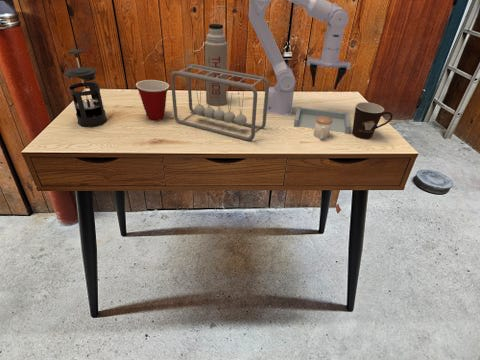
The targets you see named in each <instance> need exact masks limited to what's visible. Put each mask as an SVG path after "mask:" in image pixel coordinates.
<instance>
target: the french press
mask: <svg viewBox="0 0 480 360" xmlns="http://www.w3.org/2000/svg"><path fill="white" fill-rule="evenodd" d="M83 52H84V50H81V49H71V50H68V51H67V53H68V54H70V55H73V56H74V58H75V59H76V62H77V66H78V67H72V68H70V69H67V70H64V75H65V76H66V78H67V80H68V81H69V80H70V79H71V78H77V79H78V78H79V79H81V81H82V82H77V83H74V84H72V85H70V86H69V87H68V90H69V94H70V95H71V97H72V101H73V104H74V108H75V111H76V113H75V116H76V119H77V125H78V126H79V127H83V128H96V127H101V126H102V125H104V124H106V123H107V122H108V117H107V114H106V110H105V108H104V103H103V100H102V96H101V91H100V90H101V88H100V84H99V83H98V82H97V81H93V80H95V79H96V78H97V76H96V72H97V70H96V69H95V68H94V67H90V66H80V62H79V59H78V58H79V55H78V54H82V53H83ZM84 81H85V82H84ZM86 87H88V89H89V90H87V89H86ZM78 88H83V89H84V90H82V91H77V90H75V89H78ZM82 96H83V97H86V99H83V97H82ZM88 96H90V97H91V98H88Z"/></svg>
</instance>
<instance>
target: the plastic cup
mask: <svg viewBox="0 0 480 360" xmlns="http://www.w3.org/2000/svg"><path fill="white" fill-rule="evenodd" d="M169 87H170V84H169V83H167V82H165V81H162V80H156V79H145V80H140V81H138V82H136V84H135V88H137V91H138V93H139V94H138V95H139V96H140V99H141V102H142V106H143V110H144V112H145V114H146V117H147V119H148V120H150V121H156V122H157V121H161V120H163V119H164V118H165V114H166V103H167V94H168V90H169Z"/></svg>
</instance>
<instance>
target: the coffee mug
mask: <svg viewBox="0 0 480 360" xmlns="http://www.w3.org/2000/svg"><path fill="white" fill-rule="evenodd" d="M354 109H355V110H354V116H353V124H352V132H351V134H352V136H353V137H355V138H357V139H360V140H370V139H372V138H373V136H374V133H375V131H376V130H377V129H378V128H381V127H383V126H385V125H387V124H388V123H390V122H391V121H392V120H393V113H392V112H390V111H385V108H384V107H383V106H381V105H380V104H377V103H373V102H368V101H367V102H365V101H364V102H363V101H362V102H358V103H356V104H355V108H354ZM386 114H387V115H390V118H389V119H388V120H386V122H383V123H381V124H379V122H380V120H381V117H382V116H384V115H386ZM378 124H379V125H378ZM371 137H372V138H371Z"/></svg>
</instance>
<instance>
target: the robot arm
mask: <svg viewBox="0 0 480 360" xmlns="http://www.w3.org/2000/svg"><path fill="white" fill-rule="evenodd" d="M287 1H288V2H291V3H293V4H295V5H297V6H299V7H302V8H304V9H305V10H306V14H307V16H309V17H312V18H314V19H316V20H317V21H320V22H322V23H325V24H327V25H326V31H325V34H324V39H323V45H322V50H321V58H307V63H306V66H307V67H308V66H309V72H310V76H311V80H312V81H311V83H312V85H311V87H312V88H315V84H316V75H317V69H318V67H323V68H332V69H333V68H334V69H337V73H336V78H335V82H334V84H333V85H334V86H333V90H337V88H338V85H339V83H340V82H341V80H342V79H343V77H344V76H345V74H346V73H347V70H348V71H349V70H350V69H351V65H352V64H351V63H352V62H348V61H342V60H339V57H340V51H341V47H342V42H343V38H344V32H345V27H347V25H348V24H349V21H350V19H349V14H348V12H347V10H346V9H344V8H342V7H340V6H339V5H338V4H337V2H334V3H332V2H330V1H328V0H287ZM271 2H272V0H249V8H248V20H249V22H250V24H251V26H252V28H253V30H254V32H255V34H256V36H257V38H258V40H259V42H260V44H261V47H262V48H263V50H264V52H265V55H266V57H267V58H268V60H269V63H270V65H271V66H272V69H273V71H274V74H275V79H276V83H275V84H274V86H269V93H268V104H267V114H272V115H278V116H279V115H280V116H286V117H291V116H292V114H293V110H294V107H293V101H294V100H293V99H294V93H295V86H296V84H297V83H296V81H297V80H296V77H295V76H294V72H293V69H292V68H291V67H289V66H288V64H287V63H286V61H285V59H284V56H283V55H282V52H281V51H280V49H279V47H278V44H277V41H276V40H275V38H274V35H273V33H272V31H271V29H270V27H269V25H268V22H267V20H266V19H265V14H266V11H267V7H268V6H269V4H270V3H271Z"/></svg>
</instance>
